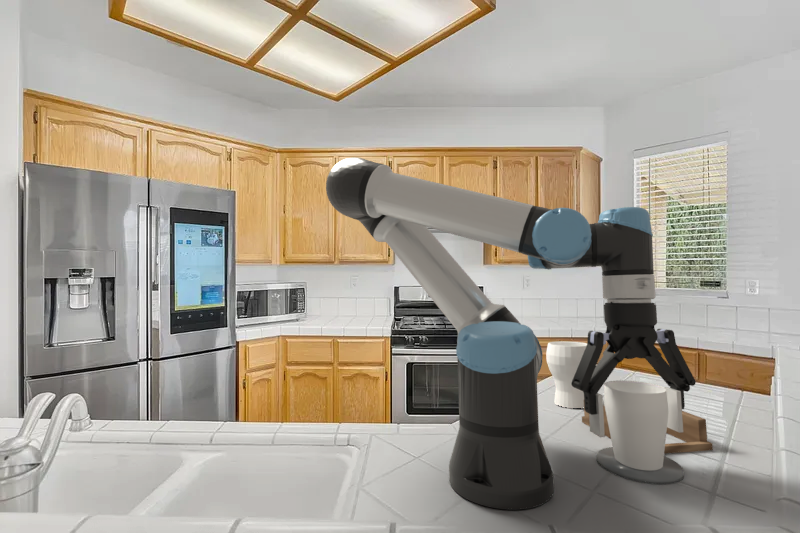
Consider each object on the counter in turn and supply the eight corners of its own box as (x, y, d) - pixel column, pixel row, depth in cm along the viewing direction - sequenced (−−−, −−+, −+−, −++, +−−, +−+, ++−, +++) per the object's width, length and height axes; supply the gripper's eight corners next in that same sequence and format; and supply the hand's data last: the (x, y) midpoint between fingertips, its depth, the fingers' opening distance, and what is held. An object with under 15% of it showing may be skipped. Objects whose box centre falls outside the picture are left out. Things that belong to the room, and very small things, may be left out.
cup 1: (596, 402, 97) (593, 342, 98) (592, 413, 88) (588, 347, 89) (552, 396, 103) (550, 340, 104) (544, 406, 94) (541, 345, 95)
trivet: (629, 487, 55) (629, 482, 56) (581, 452, 67) (581, 449, 67) (704, 481, 57) (704, 476, 57) (644, 448, 69) (644, 444, 69)
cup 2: (604, 466, 61) (600, 389, 61) (608, 446, 68) (605, 378, 69) (674, 480, 56) (669, 396, 57) (670, 457, 64) (665, 383, 64)
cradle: (639, 455, 66) (637, 425, 66) (582, 422, 83) (580, 398, 83) (712, 450, 67) (710, 421, 68) (641, 418, 84) (640, 395, 85)
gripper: (570, 303, 59) (577, 445, 57) (717, 300, 61) (726, 435, 60) (546, 302, 66) (552, 427, 65) (678, 299, 69) (686, 420, 68)
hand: (636, 432), depth 62 cm, fingers open, 13 cm apart
